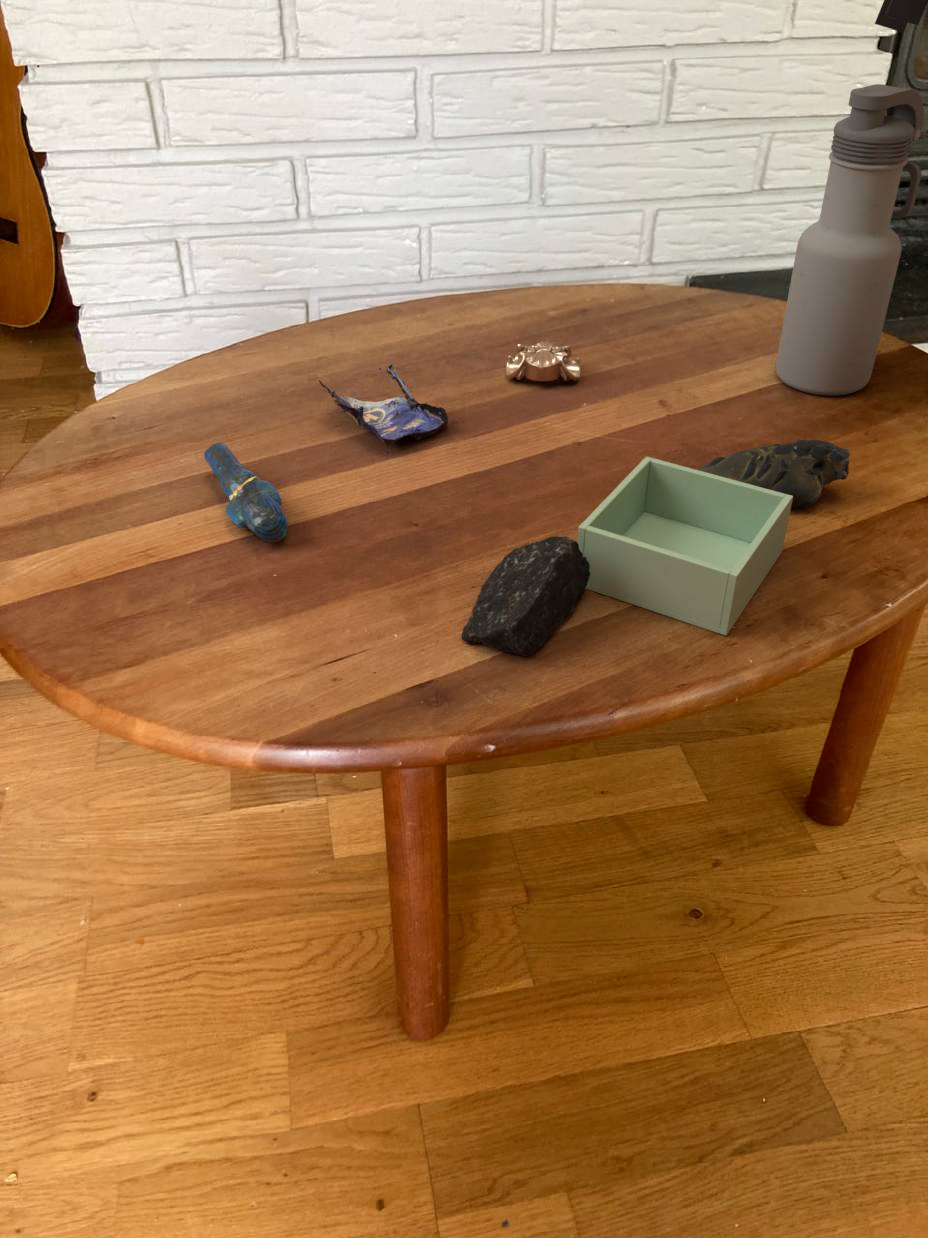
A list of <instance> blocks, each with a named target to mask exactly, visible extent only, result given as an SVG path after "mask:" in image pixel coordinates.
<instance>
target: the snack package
mask: <svg viewBox="0 0 928 1238" xmlns="http://www.w3.org/2000/svg"><path fill="white" fill-rule="evenodd" d="M381 370H382V368H381V367H380V368H378V371H381ZM386 372H387V374H388V376H391V379H392V380H395V381H396V383H397V385H398V387H399V388H400V390H401V392H402V393H403V395H404V397H399V396H397V397H392V398H386V399H385V400H380V401H369V400H367V401H364V400H359V399H356V398H353V397H351V396H349V395H343V394H341V395H340V396H339V395H337V394H336V392H335V391H331V389H330V388H329V387H328V386H327V385H328V384H324V383H323V382H322V381H321V380H320V379H318V382H319V385H320V386H321V387H322V388H324V390H326V391H327V393H328V394H329V395H330V397H331V398H332V401H333V403H334V404H335V405H336V406H337V407H339V408H340V409H341V411H342V412H343V413H345V414H346V415H347V416H348V417H349V418H350V419H351V420H352V421H354V422H355V424H356V425H357V426H359V428H361V429H363V430H365V431H367V432H370V433H372V434H373V435H375V436H376V437H377V438H378V439H379V440H380V441H381V442H382V443H383V444H384V445H385V446H386V447H387V448H389V447H390V446H392V445H393V444H394V443H396V442H398V441H399V440H400V439H401V440H402V439H403V438H404V437H408V436H412V437H415V440H416V442H418V441H420V440H421V439H424V438H425V437H426V438H427V437H428V436H431V437H432V436H433V435H434V434H436V433H437V432H438V431H439V430H441V428H443V427H444V426H447V425H448V424H449V416H448V413H447V411H446V409H445V408H444V407H441V406H439V407H436V406H433V405H431V404H429V403H419V402H418V401H417V400H416V398H415V397H414V396H413V395H412V394H411V392H410V391H409V389H408V383H407V382H406V380H405V379H401V378H400V375H399V372H398V370H397V368H395V367H394V366H393V364H392V363H391V364H390V365H389V366H388V367H386ZM363 375H366V373H365V372H364V373H363ZM352 393H353V394H354V395H357V392H356V391H355V390H352ZM411 444H412V442H410V445H411ZM406 446H409V444H408V443H407V444H406ZM389 453H390V451H387V452H386V454H389Z"/></svg>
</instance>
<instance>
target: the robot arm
mask: <svg viewBox="0 0 928 1238" xmlns="http://www.w3.org/2000/svg"><path fill="white" fill-rule="evenodd" d="M927 5H928V0H883V2H882V4H881V6H880V9H879V11H878V15H877V17H876V19H875V21H874V25H877V26H880V27H884V28H887V29H889V30H894V31H897V32H900V33H904V32H905V29H906V27H907V25H908V24H912V25H915V26H919V24H920V22H921V20H922V18H923V15H924V13H925V10H926V8H927Z"/></svg>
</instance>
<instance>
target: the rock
mask: <svg viewBox="0 0 928 1238" xmlns="http://www.w3.org/2000/svg"><path fill="white" fill-rule="evenodd" d="M589 568H590V565H589V562H588V561H587V560H586V557H583V555H582V552H581V551H580V549H579V545H578V540H577V539H574V538H572V537H570V536H566V535H565V536H557V535H554V536H553V535H552V536H549V537H545V538H544V539H541V540H539V541H535V542H531V543H529V544H524V545H521V546H520V547H517V548H515V547H514V548H513V549H512V551H511V552H509V553H508V554H506V555H505V556H503V558H502V560H501V561H500V562H499V563H498V564H497V565H496V566H495V567H494V569H493V571H492V572H491V573H490V574H489V575H488V577H487V579H486V580H485V581H484V583H483V585H482V586H481V588H480V592H479V594H478V595H477V598H476V600H475V601H474V602H475V603H474V605H473V607H472V611H471V615H470V617H469V618H468V620H467V622H466V623H465V625H464V626H463V628H462V632H461V638H462V640H463V641H464V642H465V643H467V644H470V645H474V644H478V643H481V644H483V646H485V647H489V648H494V649H497V650H499V651H502V652H508V653H510V654H511V653H512V654H516V656H523V657H528V656H530V655H531V654H532V653H534V652H535V651H536V650H538V649H539V648H540V647H541V646H543V645H545V643H546V640H547V638H548V636H550V635H551V634H552V633H553V632H554V631H555V630H556V629H557V628H558V626H560V624H561V623H562V621H564V619H565V617H566V616H567V615H569V614H571V613H572V612H573V610H574V609H575V605H576V602H577V601H578V600H580V599H581V598H582V597H583V596H584V595H585V592H586V586H587V583H588V580H589V576H590V572H589Z"/></svg>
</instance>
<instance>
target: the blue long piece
mask: <svg viewBox="0 0 928 1238" xmlns="http://www.w3.org/2000/svg"><path fill="white" fill-rule="evenodd" d="M203 458H204V460H205V461H206V463H208V464H207V465H209V467H210V468H211V470H212V472H213V474H214V476H215V477H216V479H217V481H218V484H219V487H220V488H221V490H222V492H223V494H224V495H225V497H226V499H227V500H228V501H229V503H228V505H227V506H226V507H225V514H226V516H227V517H228V519H229V520H230V521H231V522H232V523H233V524H234V525H235V526H237V527H238V528H240V529H242V530H248V529H249V530H250V531H251V532H253V534H255V535H256V536H257V537H258V538H259V539H261V540H263V541H265V542H267V543H277V542H279V541H281V540H283V539H284V538H285V537H286V536H287V533H288V530H289V521H288V517H287V515H286V513H285V512H284V509H283V508H282V503H283V500H282V497H281V495H280V492H279V491H278V490H277V488H276V487H275V485H274V483H272V482H270V481H269V480H266V479H265V480H263V479H260V478H259V476H258V475H257V474H256V473H255V472H254V471H252V470H250V469H249V468H248V467H246V466H244V465H243V464H241V462H240V461H239V460H238V458H237V457H236V455H235V454H234V453H233V452H232V450H231V449H230V448H229V447H228V446H227V445H226V444H225V443H223V442H216V443H213V444H211V445H210V446H209V447H208V448H206V449H205V450H204V452H203Z"/></svg>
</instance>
